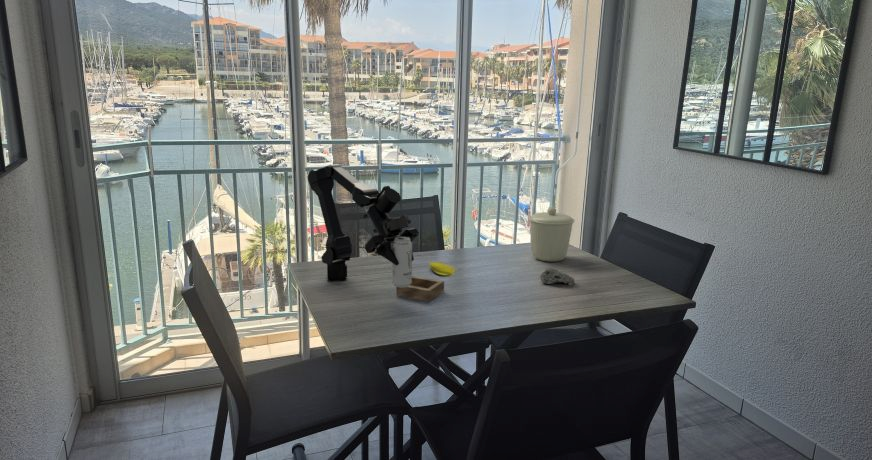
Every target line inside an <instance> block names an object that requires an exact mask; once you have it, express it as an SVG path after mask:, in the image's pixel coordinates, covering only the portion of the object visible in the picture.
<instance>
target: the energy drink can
mask: <svg viewBox="0 0 872 460" xmlns="http://www.w3.org/2000/svg"><path fill="white" fill-rule="evenodd" d="M392 251H393V252H394V254H395V256H396V258H397V260H398V262H399V264H398V265H395V264H393V263H392V262H391V263H392V270H391V271H392V273H391V275H392V277H391V278H392V282H391V283H392V284H393V286H394V287H395V288H396V287H400V288H404V287H408V286H410V284H411V283H412V276H413V275H412V273H413V266H412V265H413V261H412V252H413V242H411V241H410V238H409V237H396V238H395V240H394V242H393V243H392Z"/></svg>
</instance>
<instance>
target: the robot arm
mask: <svg viewBox="0 0 872 460" xmlns="http://www.w3.org/2000/svg"><path fill="white" fill-rule="evenodd" d="M307 181H308V184H309V186H310V189H311V191H312V192H313V193H314V194H315V195H316V196H317V198H318V203H319V206H320V209H321V210H320V211H321V213H322V218H323V222H324V226H325V229H326V234H327V237H326V241H325V249H326V250H325V251H324V252H323V254H322V255H321V262H322V264H326V269H327V271H326V272H327V273H326V274H327V275H326V281H327V282H340V281H341V282H342V281H343V282H344V281H347V277H348V264H346V262H347V261H348V262H349V261H350V260H351V255H352V253H353V245H352V243H351V238H350V236H349V235H345V234H344V232H343V231H342V227H341V223H340V219H339V214H338V211H337V207H336V203H335V199H334V196H333V189H334V186H335V182H337V184H338V185H340V186H341V187H342V188H343V189H345V190H346V191H347V192H348V193H349V194H350V195H351V199H352V200H353V202H355V204H356V206H358V207H359V208H367V207H369V208H367V209H364V213H363V219H364V220H365V219H369V221H370V222H371V223H372V226H373V227H374V229H373V230H372V231H373V232H374V234H378V235H373V236H371V237H370V238H369V239H368V241H367V242H366V243H365V245H364V250H365V252H366V253H367V254H371V253H374V254H375V255H377V254H378V255H379V256H380V257H383V258H384V259H386V260H387V261H389V262H390V263H393V264H395V265H398V264H399V262H398V260H397V258H396V256H395V254H394V252H393V248H392V244H393V242H394V240H395V238H396V237H409V238H410V241H411V243H413V241H414V240H415V239H417V237H418V236H419V235H420V233H419V231H418V229H417V228H416V227H411V228H408V227H409V225H411V223H412V221H411V218H410V216H409V215H408V213H407V214H403V215H400V217H397V218H393V217H390V215H389V214H390V213H392V212H393V210H394V209H395V208H396V206H398V204H399V203H400V202H401V200H402V196H401V194H400V193H399V192H398V191H397V190H396V189H394V188H392V187H390V185H384V186H383V187H382V189H381V190H380V191H379V190H378V189H377V188H376V187H374V186H372V185H371V184H365V183H363V182H361V181H359V180H358V179H357V178H356V177H354V176H353V175H352V174H351V173H349V171H347V170H346V169H345V168H343V166H342V165H341V164H339V163H335V164H328V165H326V166H325V167H321V168H318V169H311V170H310V171H309V173H308V175H307ZM404 228H406V229H405V230H404V231H403V229H404ZM402 231H403V232H402ZM414 260H415V259H414V253H413V251H412V262H413V261H414Z"/></svg>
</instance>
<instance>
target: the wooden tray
mask: <svg viewBox="0 0 872 460" xmlns="http://www.w3.org/2000/svg"><path fill="white" fill-rule="evenodd" d="M395 288H396V293H395V294H396V296H399V297H404V298H409V299H415V300H419V301H420V300H421V301H426V302H431V301H432V300H433V299H435V298H436V297H438V296H439V295H441V294H442V293H444V292H445V281H444V280H439V279H433V278H429V277H428V278H426V277H422V276H421V277H420V276H414V275H412V283H411V284H410V286H408V287H404V288H400V287H396V286H395Z"/></svg>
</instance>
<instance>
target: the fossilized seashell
mask: <svg viewBox="0 0 872 460" xmlns="http://www.w3.org/2000/svg"><path fill="white" fill-rule="evenodd" d="M539 278H540V280H541V282H542V283H543V284H546V285H552V284H556V283H564V284H567V285H568V286H572V285H574V284H575V279H574V277H572V276H570V275H569V274H567V273H565V272H561V271H559V270H558V269H555V268H546V269H545V270H543V271H541V274H540V275H539Z"/></svg>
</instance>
